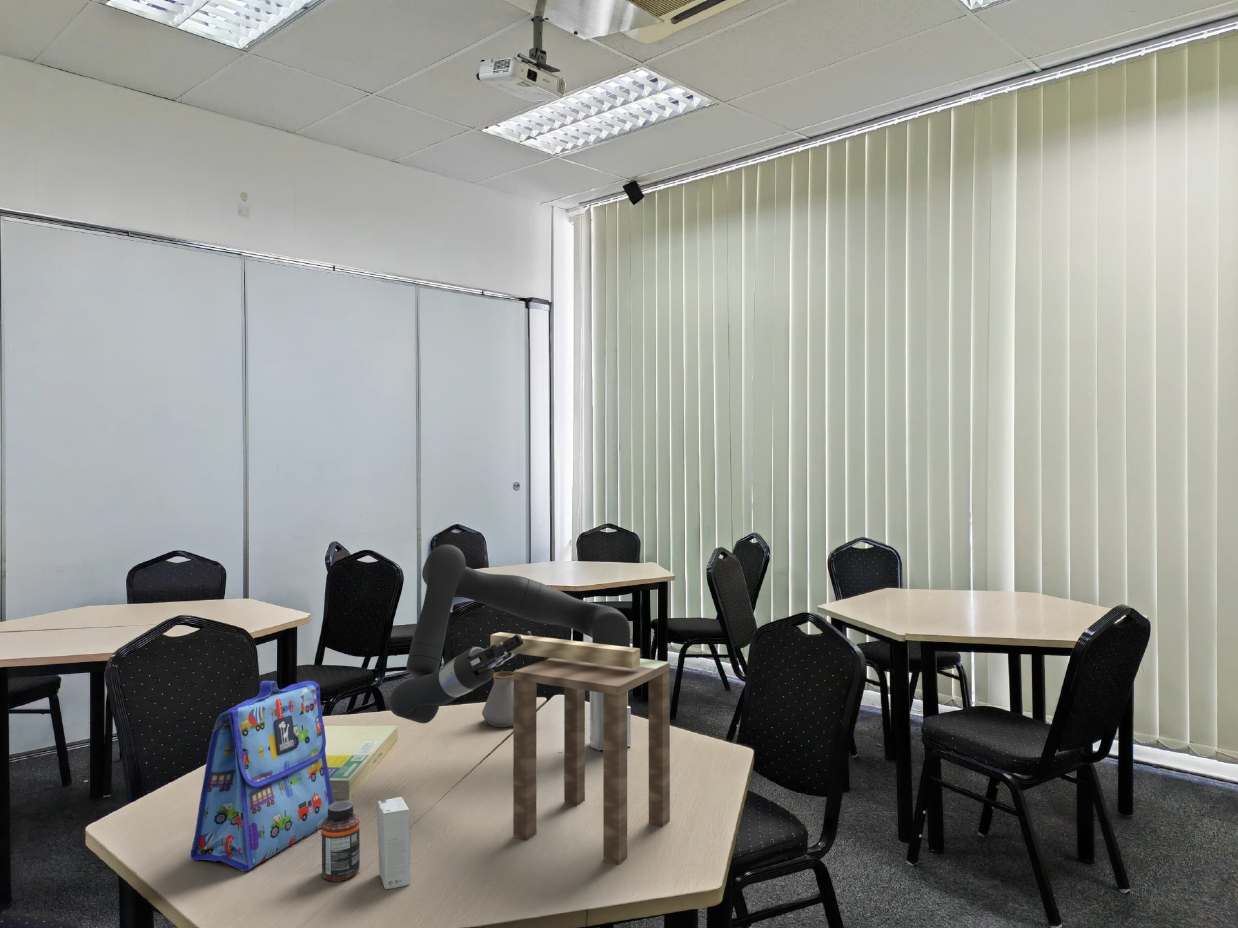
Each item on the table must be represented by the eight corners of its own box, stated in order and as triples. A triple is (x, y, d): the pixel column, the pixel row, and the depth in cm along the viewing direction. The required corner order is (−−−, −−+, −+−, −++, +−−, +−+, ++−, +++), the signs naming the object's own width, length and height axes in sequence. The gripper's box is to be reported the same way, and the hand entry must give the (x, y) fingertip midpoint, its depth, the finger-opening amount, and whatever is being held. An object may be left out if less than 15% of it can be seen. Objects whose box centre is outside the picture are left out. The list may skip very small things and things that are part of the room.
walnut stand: (513, 836, 146) (513, 670, 147) (572, 797, 164) (572, 649, 164) (618, 864, 136) (618, 686, 136) (669, 820, 153) (669, 661, 153)
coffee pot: (481, 730, 207) (481, 672, 207) (482, 717, 218) (482, 661, 218) (564, 726, 210) (564, 669, 210) (560, 713, 222) (560, 659, 222)
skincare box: (411, 884, 129) (411, 808, 129) (383, 890, 127) (383, 813, 127) (404, 867, 135) (404, 795, 135) (376, 873, 133) (376, 799, 133)
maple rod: (490, 649, 160) (490, 634, 160) (499, 646, 163) (499, 632, 163) (632, 668, 144) (632, 651, 144) (640, 664, 147) (640, 648, 147)
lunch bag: (249, 874, 133) (250, 698, 133) (187, 860, 137) (188, 691, 138) (338, 820, 153) (338, 669, 153) (281, 810, 158) (282, 663, 158)
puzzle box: (399, 743, 199) (302, 742, 199) (399, 724, 199) (303, 723, 199) (348, 803, 163) (230, 802, 163) (348, 780, 163) (230, 779, 163)
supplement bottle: (327, 865, 135) (327, 798, 136) (363, 864, 136) (363, 796, 136) (316, 883, 129) (317, 812, 130) (354, 881, 130) (354, 811, 130)
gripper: (436, 662, 160) (496, 625, 152) (481, 648, 172) (538, 614, 165) (450, 697, 158) (512, 662, 151) (495, 681, 170) (553, 647, 163)
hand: (525, 637), depth 158 cm, fingers closed on maple rod, 3 cm apart
